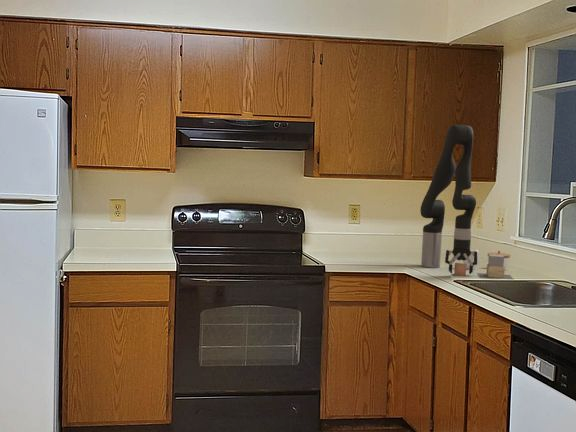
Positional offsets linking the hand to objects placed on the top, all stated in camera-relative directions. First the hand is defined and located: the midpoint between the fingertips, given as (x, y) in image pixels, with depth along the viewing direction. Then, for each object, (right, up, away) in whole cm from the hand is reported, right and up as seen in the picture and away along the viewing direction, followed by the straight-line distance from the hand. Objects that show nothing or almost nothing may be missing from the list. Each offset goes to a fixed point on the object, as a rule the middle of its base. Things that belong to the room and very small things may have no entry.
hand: (460, 273), depth 343 cm
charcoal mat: (+16, -2, 0) cm, 16 cm away
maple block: (+16, -1, 0) cm, 16 cm away
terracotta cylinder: (0, -2, 0) cm, 2 cm away
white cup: (+10, 0, +21) cm, 23 cm away
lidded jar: (+25, 0, +26) cm, 36 cm away
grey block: (+16, +4, 0) cm, 17 cm away
